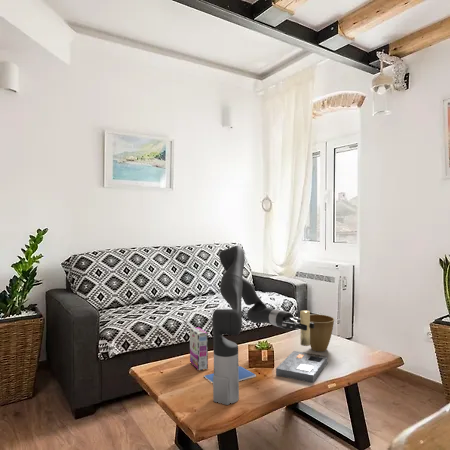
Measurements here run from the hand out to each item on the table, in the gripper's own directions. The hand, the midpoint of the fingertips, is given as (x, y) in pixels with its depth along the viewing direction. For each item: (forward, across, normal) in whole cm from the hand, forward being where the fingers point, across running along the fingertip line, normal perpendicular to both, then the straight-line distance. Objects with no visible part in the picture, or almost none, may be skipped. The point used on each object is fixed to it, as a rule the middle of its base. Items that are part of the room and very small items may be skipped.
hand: (310, 327), depth 160 cm
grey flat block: (-8, +4, +21) cm, 23 cm away
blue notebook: (-22, -26, +22) cm, 40 cm away
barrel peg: (-3, 0, +8) cm, 8 cm away
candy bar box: (-40, -30, +22) cm, 54 cm away
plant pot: (-20, +30, +21) cm, 42 cm away
